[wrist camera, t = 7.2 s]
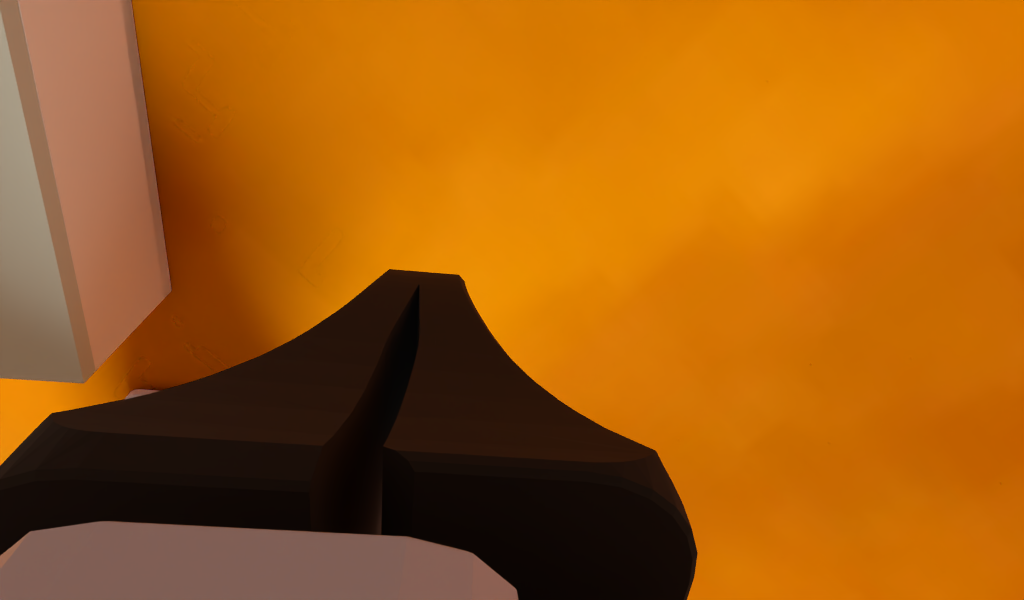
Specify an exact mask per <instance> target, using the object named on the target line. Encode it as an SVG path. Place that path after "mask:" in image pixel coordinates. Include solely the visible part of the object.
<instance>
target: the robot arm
mask: <svg viewBox="0 0 1024 600" xmlns="http://www.w3.org/2000/svg"><path fill="white" fill-rule="evenodd" d="M696 560H697V549H696V545H695V541H694V537H693V532H692V529H691V526H690V523H689V520H688V517H687V514H686V512H685V509H684V506H683V504H682V501H681V499H680V497H679V495H678V493H677V491H676V489H675V487H674V485H673V483H672V481H671V479H670V477H669V475H668V473H667V471H666V470H665V468H664V466H663V464H662V462H661V460H660V458H659V456H658V454H657V452H656V451H655V450H653V449H650V448H648V447H646V446H644V445H642V444H639V443H637V442H635V441H633V440H630V439H628V438H626V437H624V436H621V435H619V434H617V433H615V432H613V431H610V430H608V429H606V428H604V427H602V426H600V425H599V424H597V423H595V422H593V421H592V420H590V419H588V418H586V417H585V416H583V415H581V414H579V413H578V412H576V411H575V410H573V409H571V408H570V407H568V406H567V405H565V404H564V403H562V402H561V401H559V400H558V399H557V398H555V397H554V396H553V395H551V394H550V393H549V392H547V391H546V390H545V389H544V388H542V387H541V386H540V385H538V384H537V383H536V382H535V381H534V380H532V379H531V378H530V377H529V376H528V375H527V374H526V373H525V372H524V371H523V370H522V369H521V368H520V367H519V366H518V365H516V364H515V363H514V362H513V361H512V359H511V358H510V357H509V356H508V355H507V354H506V352H505V351H504V350H503V348H502V347H501V346H500V345H499V343H498V342H497V341H496V339H495V338H494V337H493V335H492V334H491V332H490V331H489V329H488V328H487V326H486V325H485V323H484V321H483V320H482V318H481V317H480V315H479V313H478V312H477V310H476V308H475V306H474V304H473V302H472V300H471V298H470V296H469V294H468V292H467V289H466V286H465V281H464V280H463V279H462V278H461V277H460V276H459V275H454V274H441V273H429V272H417V271H404V270H392V269H389V270H388V271H387V272H385V273H384V274H383V275H382V276H380V277H379V278H378V279H377V280H375V281H374V282H373V283H372V284H371V285H370V286H368V287H367V288H366V289H365V290H364V291H362V292H361V293H360V294H359V295H357V296H356V297H355V298H354V299H352V300H351V301H350V302H349V303H347V304H346V305H345V306H343V307H342V308H341V309H340V310H338V311H337V312H335V313H334V314H332V315H331V316H329V317H328V318H326V319H325V320H323V321H322V322H320V323H319V324H317V325H316V326H314V327H313V328H311V329H310V330H308V331H307V332H305V333H303V334H302V335H300V336H298V337H296V338H295V339H293V340H291V341H289V342H287V343H285V344H283V345H281V346H279V347H277V348H275V349H273V350H271V351H269V352H267V353H265V354H263V355H261V356H259V357H257V358H254V359H251V360H249V361H246V362H244V363H241V364H239V365H236V366H234V367H231V368H229V369H226V370H224V371H221V372H219V373H216V374H213V375H211V376H208V377H205V378H202V379H199V380H195V381H192V382H189V383H186V384H183V385H179V386H176V387H172V388H168V389H165V390H161V391H160V390H144V389H137V390H133V391H131V392H130V393H129V394H128V395H127V397H126V398H125V399H124V400H119V401H114V402H109V403H104V404H99V405H94V406H89V407H84V408H79V409H74V410H68V411H62V412H56V413H52V414H51V415H49V416H48V417H47V418H46V419H45V420H44V421H43V422H42V423H41V424H40V425H39V426H38V427H37V428H36V429H35V430H34V431H33V432H32V433H31V434H30V435H29V436H28V437H27V438H26V439H25V440H24V441H23V443H22V444H21V445H20V446H19V447H18V448H17V449H16V450H15V451H14V452H13V453H12V454H11V455H10V456H9V457H8V458H7V459H6V460H5V461H4V463H3V464H2V465H1V466H0V600H687V597H688V594H689V591H690V588H691V585H692V582H693V579H694V574H695V567H696Z"/></svg>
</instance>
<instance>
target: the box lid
mask: <svg viewBox="0 0 1024 600" xmlns="http://www.w3.org/2000/svg"><path fill="white" fill-rule="evenodd" d="M95 371H96V370H95V365H94V360H93V356H92V351H91V346H90V342H89V337H88V332H87V328H86V323H85V318H84V313H83V309H82V304H81V299H80V295H79V290H78V285H77V280H76V276H75V271H74V266H73V262H72V257H71V252H70V248H69V243H68V238H67V233H66V229H65V224H64V219H63V215H62V210H61V205H60V201H59V196H58V191H57V186H56V182H55V177H54V172H53V168H52V163H51V158H50V154H49V149H48V144H47V139H46V135H45V130H44V125H43V121H42V116H41V111H40V107H39V102H38V97H37V92H36V88H35V83H34V78H33V74H32V69H31V64H30V60H29V55H28V50H27V45H26V41H25V36H24V31H23V27H22V22H21V17H20V13H19V8H18V3H17V0H0V378H8V379H24V380H40V381H56V382H72V383H85V382H86V381H87V380H88V379H89V377H90V376H91V375H92V374H93V373H94V372H95Z"/></svg>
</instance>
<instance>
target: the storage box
mask: <svg viewBox="0 0 1024 600" xmlns="http://www.w3.org/2000/svg"><path fill="white" fill-rule="evenodd" d="M17 3H18V8H19V13H20V17H21V22H22V27H23V31H24V36H25V41H26V45H27V50H28V55H29V60H30V64H31V69H32V74H33V78H34V83H35V88H36V92H37V97H38V102H39V107H40V111H41V116H42V121H43V125H44V130H45V135H46V139H47V144H48V149H49V154H50V158H51V163H52V168H53V172H54V177H55V182H56V186H57V191H58V196H59V201H60V205H61V210H62V215H63V219H64V224H65V229H66V233H67V238H68V243H69V248H70V252H71V257H72V262H73V266H74V271H75V276H76V280H77V285H78V290H79V295H80V299H81V304H82V309H83V313H84V318H85V323H86V328H87V332H88V337H89V342H90V346H91V351H92V356H93V360H94V365H95V370H97V369H98V368H99V367H100V366H101V365H102V364H103V363H104V362H105V361H106V360H107V358H108V357H109V356H110V355H111V354H112V353H113V352H114V351H115V350H116V349H117V348H118V347H119V346H120V345H121V344H122V343H123V342H124V341H125V339H126V338H127V337H128V336H129V335H130V334H131V333H132V332H133V331H134V330H135V329H136V328H137V327H138V326H139V325H140V324H141V323H142V322H143V321H144V319H145V318H146V317H147V316H148V315H149V314H150V313H151V312H152V311H153V310H154V309H155V308H156V307H157V306H158V305H159V304H160V303H161V302H162V301H163V299H164V298H165V297H166V296H167V295H168V294H169V293H170V292H171V291H172V289H171V282H170V275H169V268H168V261H167V253H166V246H165V239H164V232H163V225H162V217H161V210H160V203H159V196H158V189H157V181H156V174H155V167H154V160H153V153H152V146H151V138H150V131H149V124H148V117H147V110H146V102H145V95H144V88H143V81H142V74H141V67H140V59H139V52H138V45H137V38H136V31H135V23H134V16H133V9H132V2H131V0H17Z"/></svg>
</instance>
